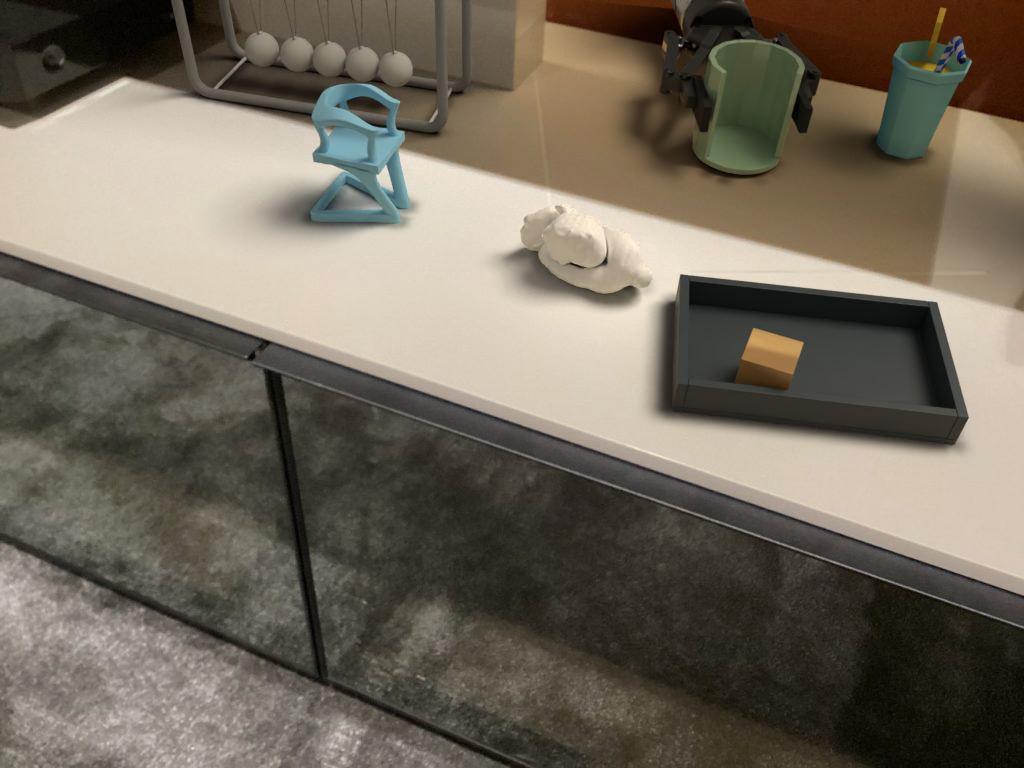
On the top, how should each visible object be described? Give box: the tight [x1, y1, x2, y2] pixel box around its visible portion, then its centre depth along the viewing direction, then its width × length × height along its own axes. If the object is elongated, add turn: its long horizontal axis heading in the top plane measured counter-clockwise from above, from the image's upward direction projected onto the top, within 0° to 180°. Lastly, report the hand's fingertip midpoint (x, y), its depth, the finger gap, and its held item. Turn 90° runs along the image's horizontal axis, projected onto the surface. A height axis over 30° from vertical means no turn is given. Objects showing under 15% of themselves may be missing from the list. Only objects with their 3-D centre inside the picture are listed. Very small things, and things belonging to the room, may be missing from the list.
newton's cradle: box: [170, 0, 473, 133], centre depth 103 cm, size 30×10×18 cm, turn 76°
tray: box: [671, 273, 970, 445], centre depth 78 cm, size 22×14×3 cm, turn 82°
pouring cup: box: [691, 39, 805, 175], centre depth 98 cm, size 9×9×10 cm
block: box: [735, 328, 804, 390], centre depth 75 cm, size 4×4×4 cm
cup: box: [875, 7, 973, 160], centre depth 98 cm, size 14×8×15 cm, turn 173°
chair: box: [309, 83, 411, 224], centre depth 90 cm, size 8×8×12 cm
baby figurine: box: [519, 203, 653, 295], centre depth 85 cm, size 9×12×8 cm
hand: (756, 120), depth 94 cm, fingers closed on pouring cup, 9 cm apart
